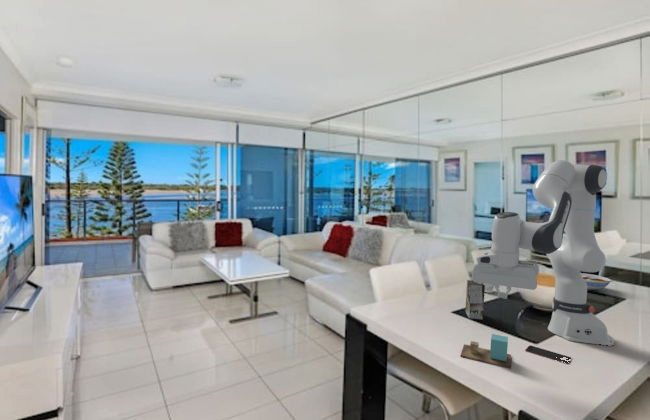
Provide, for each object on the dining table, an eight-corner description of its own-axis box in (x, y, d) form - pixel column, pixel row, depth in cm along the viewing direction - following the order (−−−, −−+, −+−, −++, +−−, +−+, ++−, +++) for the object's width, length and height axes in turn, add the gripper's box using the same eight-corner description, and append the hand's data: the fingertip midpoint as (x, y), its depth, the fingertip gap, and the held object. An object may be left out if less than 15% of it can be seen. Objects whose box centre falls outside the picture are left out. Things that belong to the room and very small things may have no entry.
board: (511, 356, 127) (511, 345, 126) (510, 368, 118) (511, 357, 118) (464, 345, 134) (464, 335, 134) (460, 356, 126) (461, 345, 125)
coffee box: (483, 319, 162) (485, 285, 161) (468, 318, 163) (470, 284, 162) (478, 312, 171) (480, 280, 170) (464, 311, 172) (466, 279, 171)
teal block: (506, 355, 125) (508, 336, 125) (506, 361, 121) (507, 342, 120) (490, 351, 128) (491, 333, 127) (489, 357, 123) (491, 339, 123)
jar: (472, 288, 212) (473, 264, 210) (486, 287, 215) (487, 263, 214) (485, 294, 201) (486, 268, 200) (499, 293, 205) (501, 267, 203)
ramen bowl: (609, 288, 222) (610, 275, 221) (615, 297, 203) (616, 283, 202) (562, 281, 235) (563, 269, 235) (563, 289, 216) (564, 276, 215)
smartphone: (569, 364, 122) (524, 350, 131) (569, 366, 122) (524, 352, 131) (572, 357, 127) (529, 344, 136) (572, 359, 127) (529, 346, 136)
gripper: (538, 260, 120) (536, 300, 121) (474, 254, 129) (472, 291, 130) (540, 264, 114) (537, 305, 115) (472, 257, 124) (470, 295, 125)
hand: (502, 297), depth 123 cm, fingers closed
